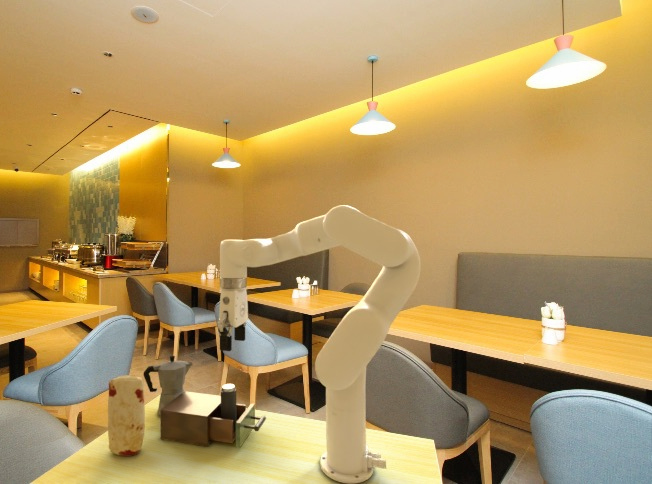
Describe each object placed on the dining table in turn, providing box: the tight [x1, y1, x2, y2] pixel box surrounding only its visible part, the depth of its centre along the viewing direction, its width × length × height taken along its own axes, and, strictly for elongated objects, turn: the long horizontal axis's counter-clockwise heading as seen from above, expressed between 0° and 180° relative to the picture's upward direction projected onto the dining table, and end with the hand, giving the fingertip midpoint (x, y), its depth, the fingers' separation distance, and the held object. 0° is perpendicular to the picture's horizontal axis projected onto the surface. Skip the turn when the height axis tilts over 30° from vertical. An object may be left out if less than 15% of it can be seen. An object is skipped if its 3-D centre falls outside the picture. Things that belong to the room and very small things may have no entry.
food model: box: [107, 374, 146, 457], centre depth 93 cm, size 10×7×20 cm
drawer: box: [209, 403, 267, 448], centre depth 100 cm, size 18×11×6 cm, turn 74°
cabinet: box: [159, 390, 221, 448], centre depth 103 cm, size 15×13×8 cm
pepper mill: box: [220, 383, 237, 432], centre depth 100 cm, size 4×4×12 cm
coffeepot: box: [143, 355, 194, 416], centre depth 115 cm, size 15×9×18 cm, turn 114°
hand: (233, 345), depth 99 cm, fingers open, 9 cm apart
